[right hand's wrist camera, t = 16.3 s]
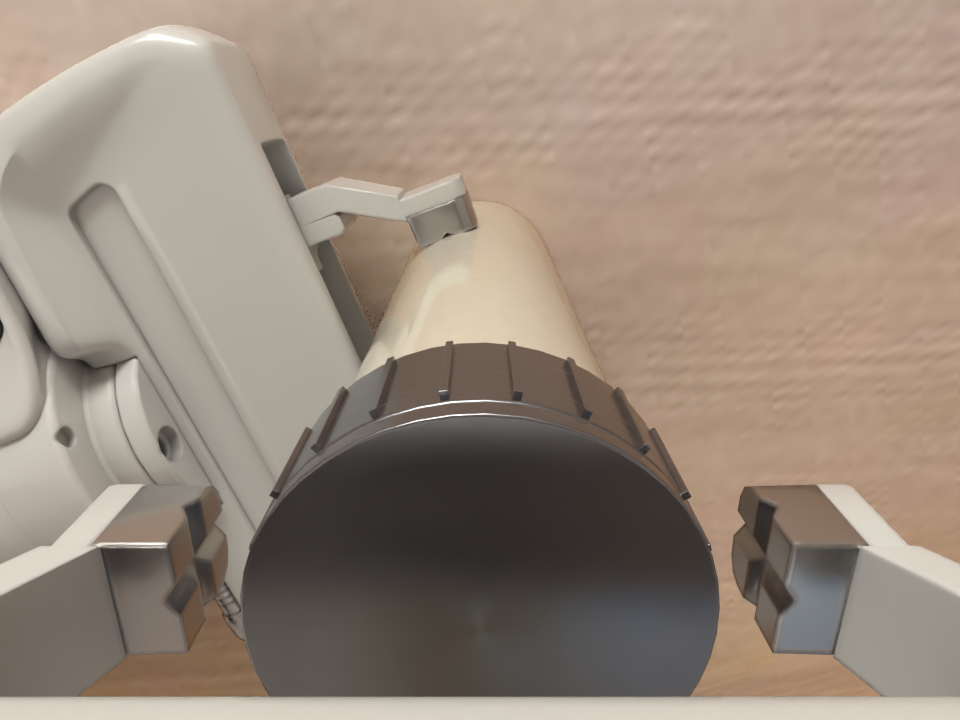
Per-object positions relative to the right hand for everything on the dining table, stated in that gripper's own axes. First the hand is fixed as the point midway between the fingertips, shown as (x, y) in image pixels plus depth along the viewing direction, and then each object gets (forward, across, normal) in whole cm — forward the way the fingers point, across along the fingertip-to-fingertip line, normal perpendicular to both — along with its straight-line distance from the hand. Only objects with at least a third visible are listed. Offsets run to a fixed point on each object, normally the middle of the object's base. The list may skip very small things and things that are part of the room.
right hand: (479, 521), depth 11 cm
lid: (-2, 0, 0) cm, 2 cm away
